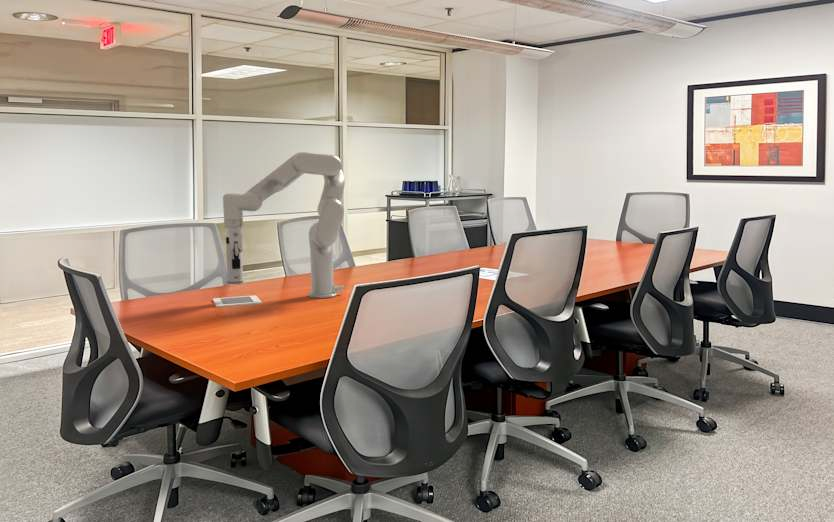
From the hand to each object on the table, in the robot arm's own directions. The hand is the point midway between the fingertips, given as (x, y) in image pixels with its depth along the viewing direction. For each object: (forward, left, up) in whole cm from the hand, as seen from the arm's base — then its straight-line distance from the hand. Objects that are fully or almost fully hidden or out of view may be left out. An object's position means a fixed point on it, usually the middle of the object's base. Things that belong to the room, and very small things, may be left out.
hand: (235, 267), depth 299 cm
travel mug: (0, 0, -7) cm, 7 cm away
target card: (0, 0, -15) cm, 15 cm away
